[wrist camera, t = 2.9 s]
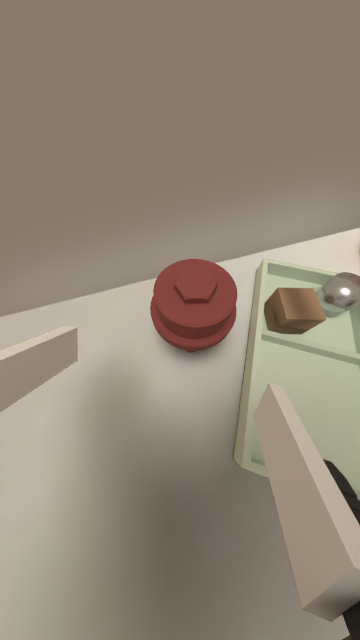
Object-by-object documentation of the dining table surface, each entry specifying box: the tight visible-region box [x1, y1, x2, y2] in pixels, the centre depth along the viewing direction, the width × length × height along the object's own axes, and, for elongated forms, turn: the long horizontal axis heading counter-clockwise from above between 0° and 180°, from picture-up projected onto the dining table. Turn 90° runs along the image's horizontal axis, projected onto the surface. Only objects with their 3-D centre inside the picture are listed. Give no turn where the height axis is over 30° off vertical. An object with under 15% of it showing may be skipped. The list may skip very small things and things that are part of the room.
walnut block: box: [264, 287, 326, 334], centre depth 25 cm, size 5×5×5 cm
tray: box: [233, 259, 360, 500], centre depth 23 cm, size 16×30×3 cm, turn 163°
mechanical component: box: [150, 259, 237, 352], centre depth 21 cm, size 12×10×10 cm
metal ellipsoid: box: [315, 272, 360, 318], centre depth 26 cm, size 5×5×5 cm
